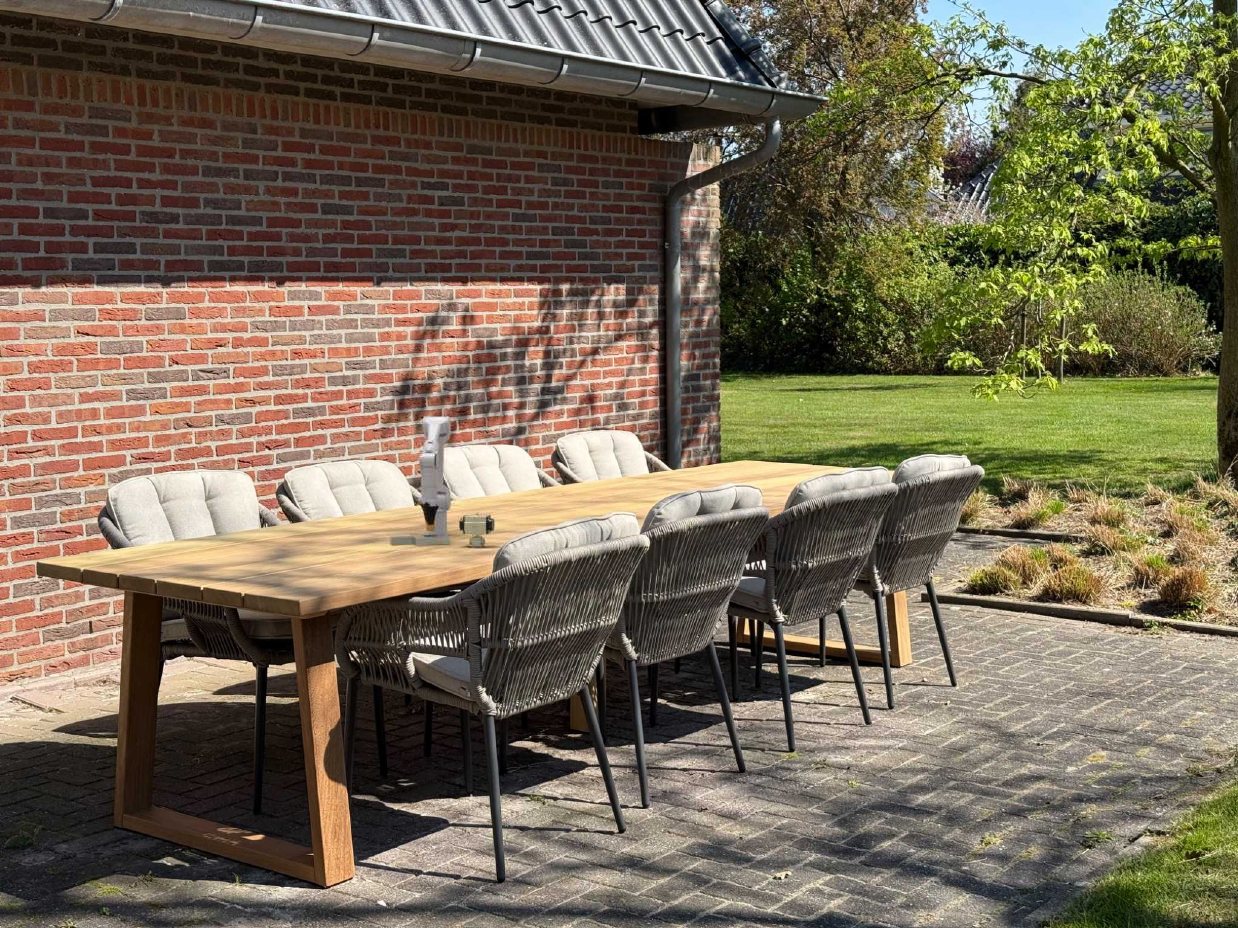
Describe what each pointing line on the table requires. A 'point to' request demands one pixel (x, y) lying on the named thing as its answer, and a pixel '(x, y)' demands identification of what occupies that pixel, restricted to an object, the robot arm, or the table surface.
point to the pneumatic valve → (476, 527)
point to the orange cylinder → (430, 527)
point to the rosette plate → (421, 539)
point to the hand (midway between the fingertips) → (429, 524)
